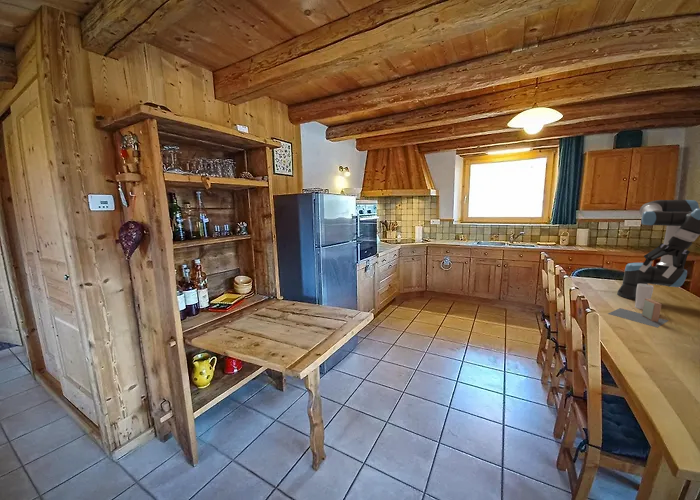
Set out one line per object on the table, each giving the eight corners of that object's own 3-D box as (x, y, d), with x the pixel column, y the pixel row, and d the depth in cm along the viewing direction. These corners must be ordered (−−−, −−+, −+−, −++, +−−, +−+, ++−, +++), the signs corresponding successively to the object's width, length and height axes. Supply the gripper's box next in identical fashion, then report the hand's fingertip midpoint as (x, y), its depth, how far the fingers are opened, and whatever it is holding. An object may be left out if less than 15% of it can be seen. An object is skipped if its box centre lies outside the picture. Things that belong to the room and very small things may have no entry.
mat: (619, 309, 167) (620, 308, 167) (668, 321, 150) (668, 320, 150) (607, 314, 160) (607, 313, 159) (657, 328, 142) (657, 327, 142)
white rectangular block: (641, 307, 170) (646, 283, 168) (652, 311, 164) (657, 287, 161) (629, 306, 171) (634, 283, 168) (639, 311, 164) (644, 286, 162)
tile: (647, 315, 156) (650, 298, 154) (658, 321, 149) (661, 304, 147) (641, 315, 157) (644, 298, 155) (651, 321, 150) (654, 303, 148)
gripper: (667, 235, 136) (637, 271, 145) (713, 247, 137) (681, 283, 146) (653, 230, 143) (626, 265, 152) (697, 241, 144) (668, 275, 153)
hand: (653, 273), depth 149 cm, fingers open, 13 cm apart
